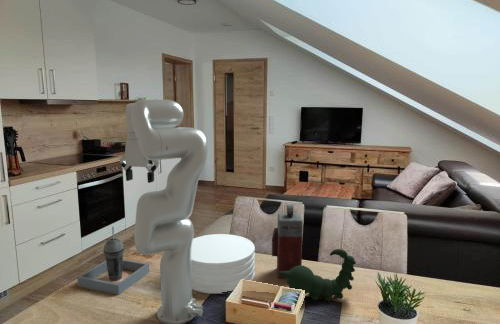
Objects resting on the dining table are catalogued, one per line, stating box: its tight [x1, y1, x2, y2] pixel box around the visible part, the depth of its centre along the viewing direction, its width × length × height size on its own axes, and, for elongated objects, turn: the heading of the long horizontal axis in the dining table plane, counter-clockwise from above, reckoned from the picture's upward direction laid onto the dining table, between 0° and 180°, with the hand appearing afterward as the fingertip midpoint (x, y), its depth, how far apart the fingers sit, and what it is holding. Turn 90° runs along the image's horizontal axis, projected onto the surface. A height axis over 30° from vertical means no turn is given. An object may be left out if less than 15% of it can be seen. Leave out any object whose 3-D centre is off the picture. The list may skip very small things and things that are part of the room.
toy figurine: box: [279, 248, 357, 303], centre depth 123 cm, size 9×19×25 cm
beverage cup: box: [103, 226, 125, 281], centre depth 135 cm, size 7×7×20 cm
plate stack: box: [191, 233, 256, 294], centre depth 139 cm, size 28×28×12 cm
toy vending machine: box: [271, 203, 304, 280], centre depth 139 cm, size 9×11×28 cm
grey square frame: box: [77, 258, 150, 295], centre depth 136 cm, size 18×18×4 cm
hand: (140, 181), depth 138 cm, fingers open, 9 cm apart
